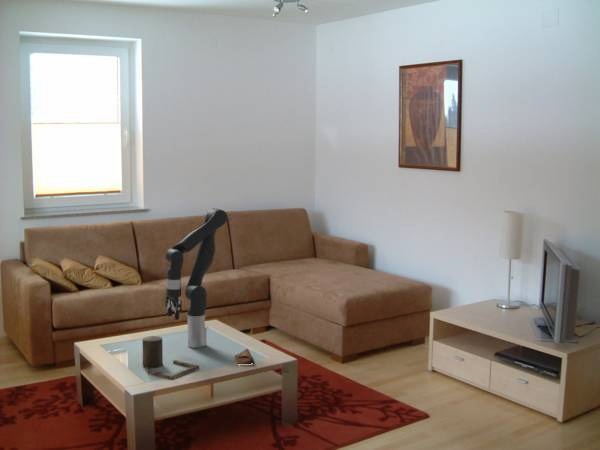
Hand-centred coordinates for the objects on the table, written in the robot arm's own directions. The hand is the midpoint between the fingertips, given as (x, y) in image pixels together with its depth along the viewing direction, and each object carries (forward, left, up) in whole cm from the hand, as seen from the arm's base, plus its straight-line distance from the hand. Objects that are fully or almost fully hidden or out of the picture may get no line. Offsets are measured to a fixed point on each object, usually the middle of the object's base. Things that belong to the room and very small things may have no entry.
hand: (173, 317), depth 374 cm
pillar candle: (+20, +18, -18) cm, 32 cm away
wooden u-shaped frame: (+15, +31, -17) cm, 38 cm away
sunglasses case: (-21, +36, -18) cm, 45 cm away
